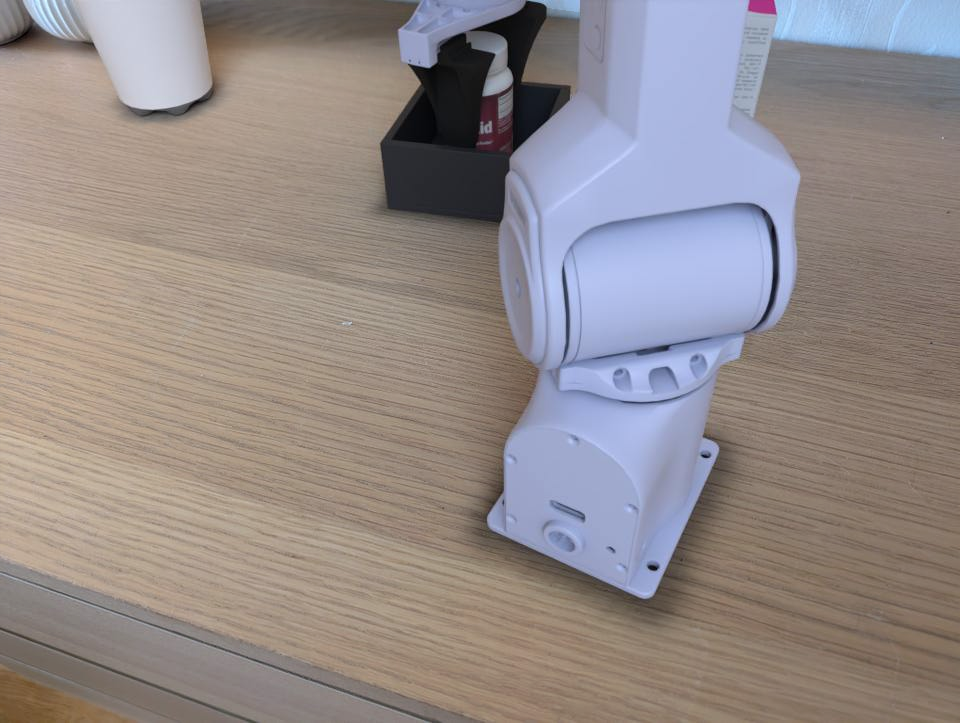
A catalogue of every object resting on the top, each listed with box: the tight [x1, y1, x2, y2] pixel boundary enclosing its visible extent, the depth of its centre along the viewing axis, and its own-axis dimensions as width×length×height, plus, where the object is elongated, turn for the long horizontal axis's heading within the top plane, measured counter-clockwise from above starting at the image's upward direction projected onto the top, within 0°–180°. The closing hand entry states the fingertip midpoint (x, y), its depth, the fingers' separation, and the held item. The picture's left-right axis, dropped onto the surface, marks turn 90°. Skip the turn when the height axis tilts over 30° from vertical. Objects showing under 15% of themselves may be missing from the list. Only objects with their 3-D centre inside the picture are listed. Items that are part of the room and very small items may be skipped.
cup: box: [73, 0, 213, 117], centre depth 65 cm, size 10×10×13 cm
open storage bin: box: [379, 80, 572, 223], centre depth 58 cm, size 11×11×5 cm
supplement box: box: [733, 0, 778, 119], centre depth 57 cm, size 6×6×12 cm
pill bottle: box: [445, 31, 513, 153], centre depth 55 cm, size 5×5×8 cm
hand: (480, 128), depth 57 cm, fingers closed on pill bottle, 5 cm apart
